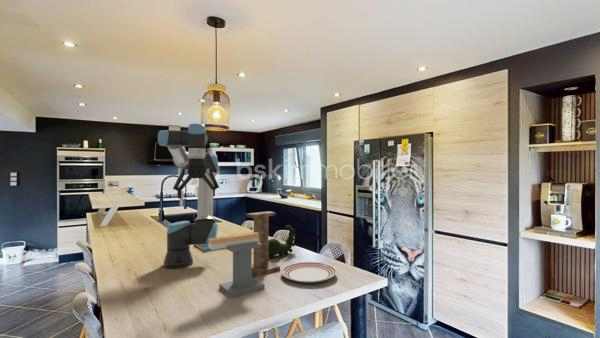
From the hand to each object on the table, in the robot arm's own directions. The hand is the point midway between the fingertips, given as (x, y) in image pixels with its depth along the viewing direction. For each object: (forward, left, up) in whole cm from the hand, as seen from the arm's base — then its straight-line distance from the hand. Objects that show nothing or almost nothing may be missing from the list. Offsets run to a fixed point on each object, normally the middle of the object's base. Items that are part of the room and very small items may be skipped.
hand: (196, 204), depth 140 cm
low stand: (+21, +5, -37) cm, 43 cm away
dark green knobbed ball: (+14, +57, -37) cm, 69 cm away
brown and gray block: (+20, +1, -17) cm, 26 cm away
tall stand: (+17, +29, -37) cm, 50 cm away
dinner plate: (+43, +31, -37) cm, 65 cm away
